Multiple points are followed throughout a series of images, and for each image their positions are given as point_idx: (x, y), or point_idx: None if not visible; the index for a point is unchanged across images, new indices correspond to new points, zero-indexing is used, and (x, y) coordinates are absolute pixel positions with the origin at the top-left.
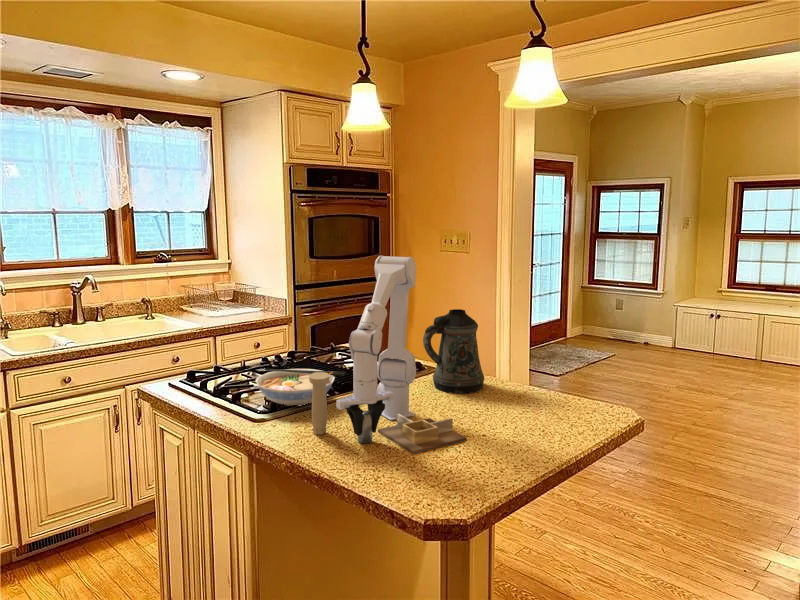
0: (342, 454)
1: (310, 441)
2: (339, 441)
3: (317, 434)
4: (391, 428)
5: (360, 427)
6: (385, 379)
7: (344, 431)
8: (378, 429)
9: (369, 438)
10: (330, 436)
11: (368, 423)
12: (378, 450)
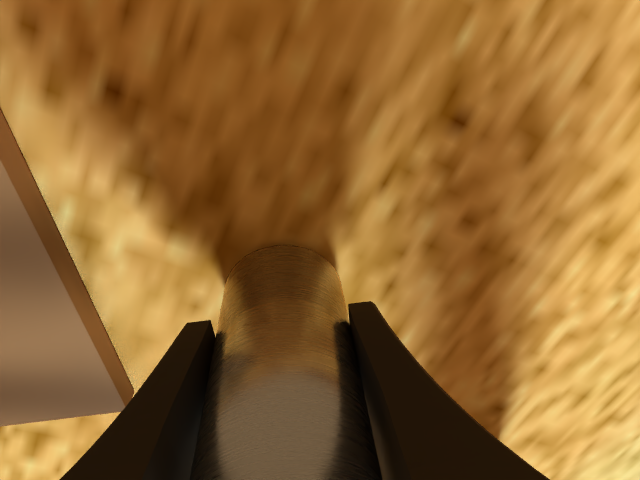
0: (557, 142)
1: (574, 390)
2: (436, 346)
3: None
4: (15, 397)
5: (377, 353)
6: None
7: None
8: (124, 406)
9: (267, 267)
10: None
11: (277, 383)
12: (242, 88)
